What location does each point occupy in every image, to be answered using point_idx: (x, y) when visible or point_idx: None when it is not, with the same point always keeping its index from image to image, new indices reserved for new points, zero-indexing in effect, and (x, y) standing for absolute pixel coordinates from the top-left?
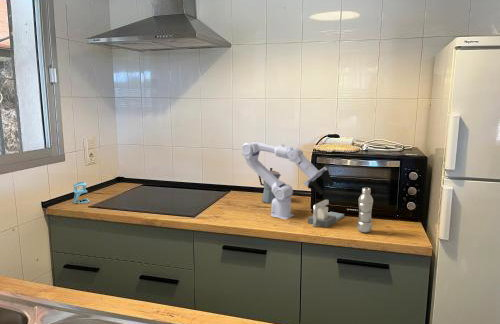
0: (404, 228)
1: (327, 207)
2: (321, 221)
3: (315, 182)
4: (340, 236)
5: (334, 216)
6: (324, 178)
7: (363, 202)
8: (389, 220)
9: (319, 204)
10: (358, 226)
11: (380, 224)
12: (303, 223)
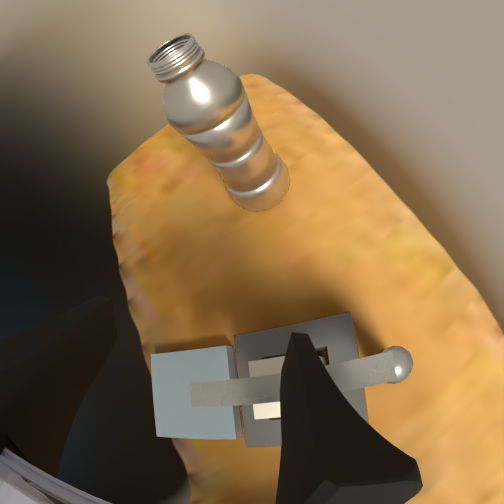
0: (161, 156)
1: (257, 360)
2: (356, 345)
3: (334, 451)
4: (387, 209)
5: (238, 343)
6: (57, 423)
7: (242, 84)
8: (117, 221)
9: (350, 360)
10: (284, 184)
11: (162, 211)
12: None
